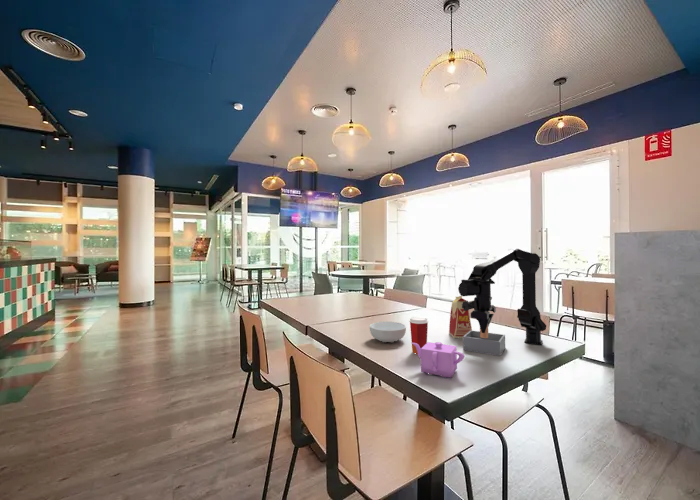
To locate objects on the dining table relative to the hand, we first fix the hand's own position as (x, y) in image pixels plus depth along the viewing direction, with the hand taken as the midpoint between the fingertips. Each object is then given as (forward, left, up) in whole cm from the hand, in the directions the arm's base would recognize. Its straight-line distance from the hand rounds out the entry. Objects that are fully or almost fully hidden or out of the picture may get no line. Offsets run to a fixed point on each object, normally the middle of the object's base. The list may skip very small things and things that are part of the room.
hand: (484, 331), depth 126 cm
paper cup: (+19, -21, -7) cm, 29 cm away
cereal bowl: (+11, -40, -7) cm, 42 cm away
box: (0, 0, -7) cm, 7 cm away
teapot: (+34, -8, -7) cm, 36 cm away
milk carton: (-15, -14, -7) cm, 22 cm away
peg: (0, 0, -2) cm, 2 cm away
